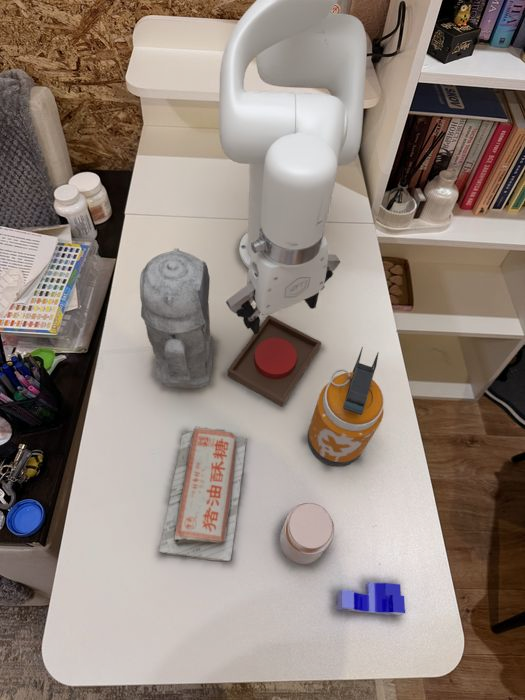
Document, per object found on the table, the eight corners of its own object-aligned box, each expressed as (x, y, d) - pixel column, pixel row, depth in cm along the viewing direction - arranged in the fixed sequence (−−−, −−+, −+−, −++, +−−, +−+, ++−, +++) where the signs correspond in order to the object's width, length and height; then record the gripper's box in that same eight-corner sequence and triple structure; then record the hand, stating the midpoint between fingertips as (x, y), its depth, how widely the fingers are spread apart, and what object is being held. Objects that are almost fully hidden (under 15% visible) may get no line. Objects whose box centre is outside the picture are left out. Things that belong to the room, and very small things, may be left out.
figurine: (216, 327, 90) (210, 225, 69) (210, 399, 83) (201, 311, 62) (161, 324, 90) (137, 221, 69) (150, 397, 83) (120, 307, 61)
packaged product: (180, 420, 76) (247, 428, 76) (183, 432, 80) (246, 440, 80) (155, 548, 66) (230, 557, 66) (159, 554, 71) (231, 563, 71)
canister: (299, 455, 79) (317, 399, 62) (320, 395, 84) (341, 328, 67) (355, 475, 78) (389, 424, 60) (372, 413, 83) (408, 350, 66)
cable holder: (395, 586, 70) (403, 583, 66) (396, 615, 68) (405, 613, 65) (337, 581, 70) (342, 577, 66) (336, 609, 68) (342, 607, 65)
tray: (267, 321, 92) (268, 314, 90) (319, 348, 89) (321, 342, 87) (227, 376, 85) (227, 370, 84) (282, 407, 83) (283, 401, 81)
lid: (296, 380, 85) (297, 375, 83) (253, 378, 85) (253, 373, 83) (295, 343, 89) (296, 338, 87) (254, 342, 88) (254, 336, 87)
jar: (293, 508, 75) (300, 490, 66) (332, 532, 73) (344, 516, 65) (271, 548, 72) (276, 534, 64) (311, 573, 70) (321, 562, 62)
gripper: (242, 285, 57) (240, 357, 72) (368, 232, 62) (342, 310, 77) (212, 239, 60) (217, 317, 75) (334, 192, 65) (316, 274, 80)
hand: (280, 313), depth 76 cm, fingers open, 9 cm apart
